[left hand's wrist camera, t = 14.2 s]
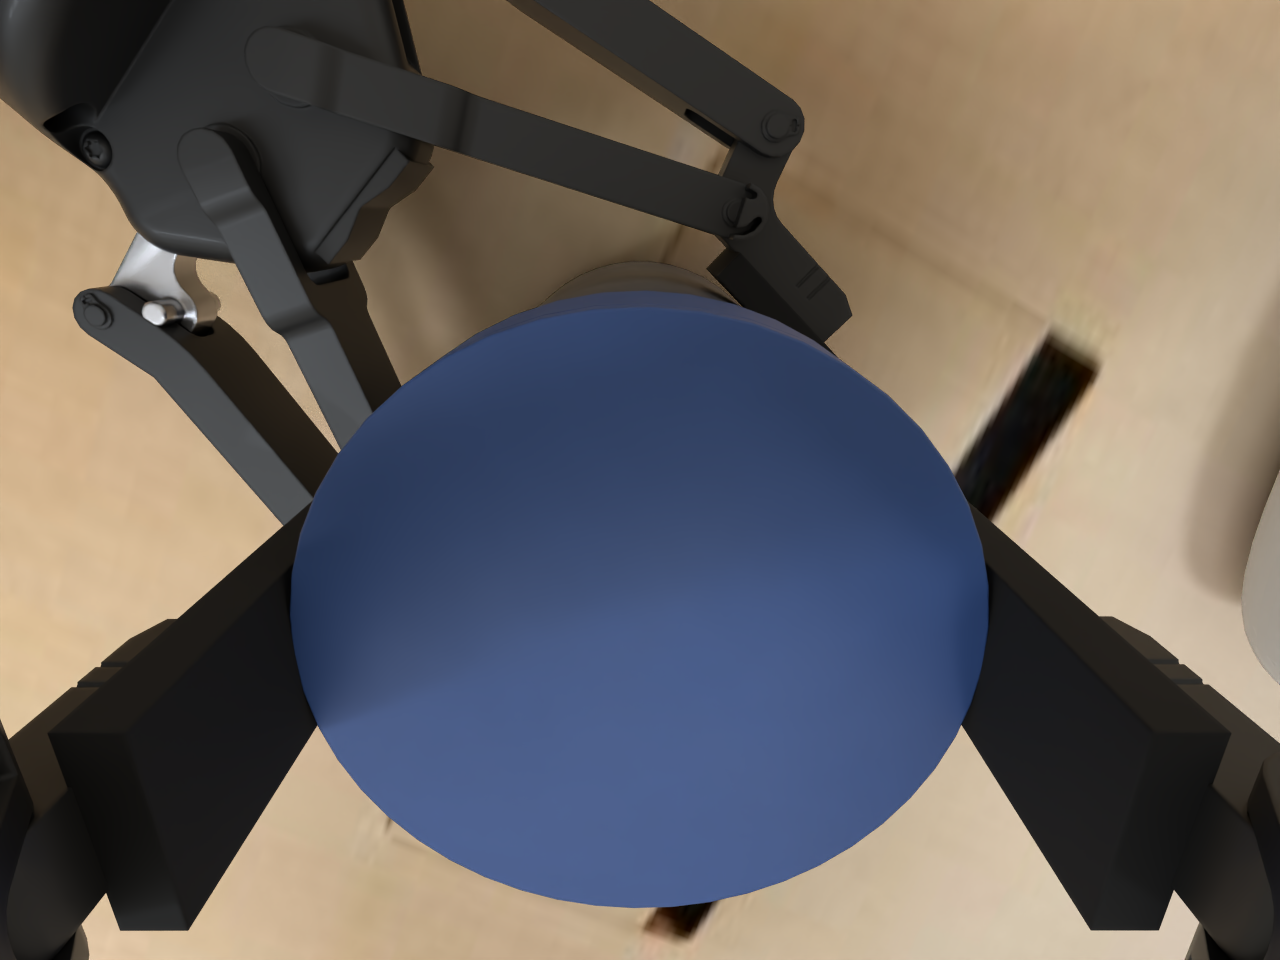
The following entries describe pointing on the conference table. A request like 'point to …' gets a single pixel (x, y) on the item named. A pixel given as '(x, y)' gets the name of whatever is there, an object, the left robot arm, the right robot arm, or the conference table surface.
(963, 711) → the lid
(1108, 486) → the conference table surface
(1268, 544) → the projector
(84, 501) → the conference table surface
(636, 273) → the jar
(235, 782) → the left robot arm
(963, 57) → the conference table surface
